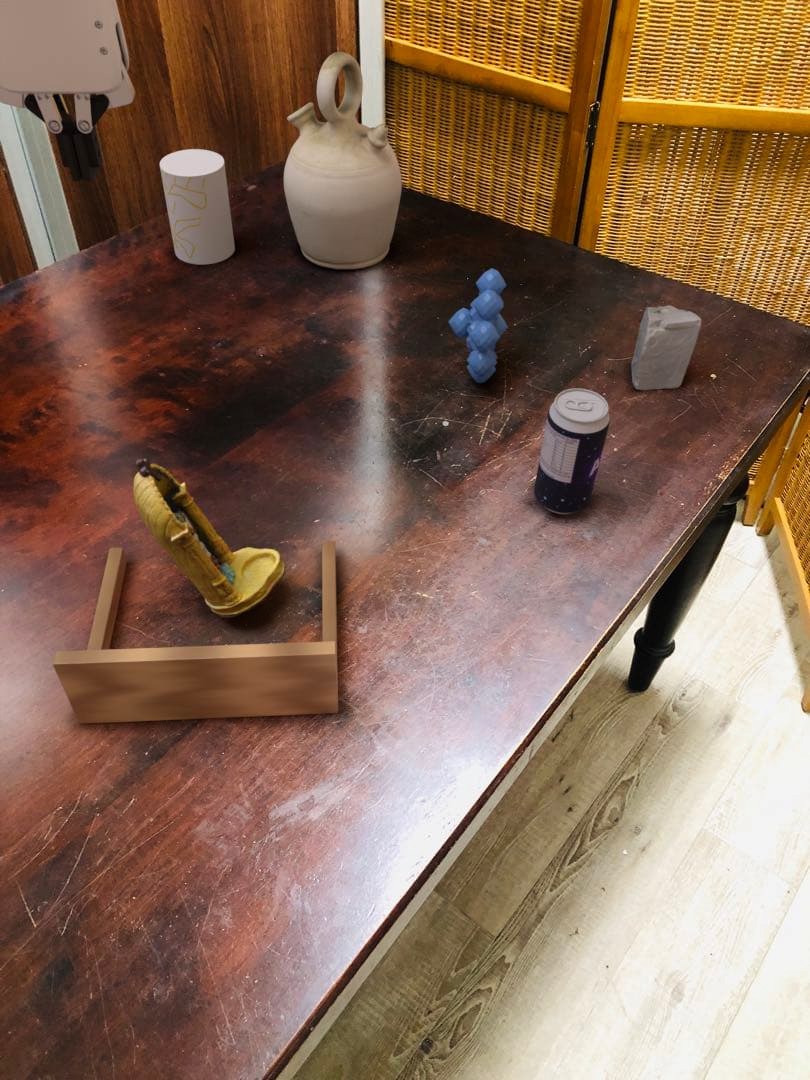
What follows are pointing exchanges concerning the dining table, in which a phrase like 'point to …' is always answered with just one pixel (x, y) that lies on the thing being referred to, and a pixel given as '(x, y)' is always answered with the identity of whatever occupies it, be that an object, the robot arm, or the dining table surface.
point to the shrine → (203, 545)
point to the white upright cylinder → (198, 205)
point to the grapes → (482, 325)
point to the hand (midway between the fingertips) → (85, 174)
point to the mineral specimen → (664, 347)
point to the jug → (341, 177)
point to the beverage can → (571, 450)
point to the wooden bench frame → (199, 669)
